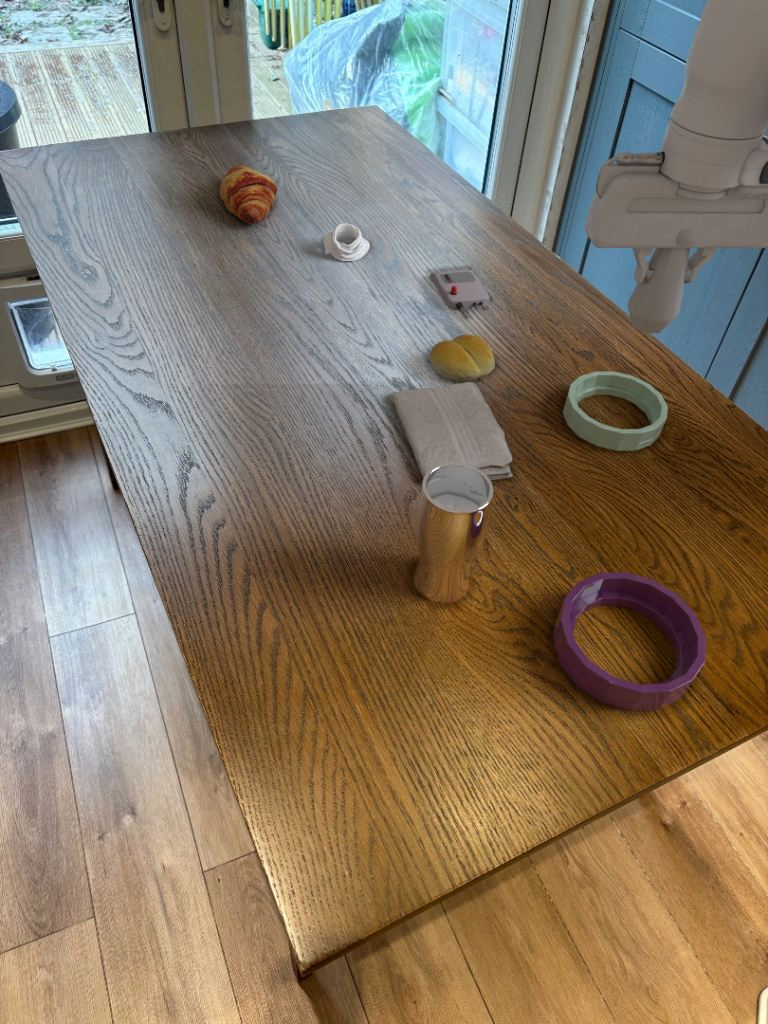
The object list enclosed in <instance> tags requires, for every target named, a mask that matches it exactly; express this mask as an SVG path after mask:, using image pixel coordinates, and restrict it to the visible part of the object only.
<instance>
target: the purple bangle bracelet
mask: <svg viewBox="0 0 768 1024" xmlns="http://www.w3.org/2000/svg"><path fill="white" fill-rule="evenodd" d="M611 606H613V607H615V606H617V607H618V606H619V607H622V608H626V609H629V610H632V611H636V612H638V613H640V614H641V615H643V616H645V617H647V618H648V619H649V620H651V621H653V622H655V624H656V625H658V627H659V628H660V630H662V632H663V633H664V634H665V635H666V636H667V637H668V639H669V641H670V644H671V646H672V649H673V651H674V654H675V663H674V672H673V673H672V675H671V676H670V678H669V679H666V680H665V681H662V682H661V683H651V684H649V683H648V684H639V683H635V682H632V681H629V680H625V679H622V678H619V677H616V676H613V675H612V674H610V673H608V672H607V671H606V670H604V669H603V668H601V667H600V666H598V665H597V664H596V663H594V662H593V661H591V660H590V659H589V657H588V656H587V655H586V653H585V652H584V651H583V650H582V648H581V647H580V646H579V644H578V643H577V642H576V639H575V634H574V631H575V626H576V622H577V621H578V620H579V619H580V617H581V616H582V615H583V614H584V613H586V612H589V611H591V610H593V609H596V608H598V607H611ZM554 625H555V627H554V630H553V636H552V641H553V645H554V648H555V652H556V655H557V660H558V662H559V665H561V667H562V669H563V670H564V671H565V673H566V674H567V675H568V677H569V678H570V680H572V681H573V683H574V684H575V685H576V686H577V687H579V688H580V690H582V691H584V692H585V693H587V694H589V695H590V696H591V697H592V698H594V699H596V700H597V701H598V702H600V703H603V704H605V705H609V706H612V707H616V708H618V709H622V710H625V711H629V712H640V711H643V712H644V711H658V710H661V709H663V708H665V707H667V706H669V705H671V704H673V703H675V702H677V701H679V700H680V699H682V697H683V695H684V694H685V692H686V691H687V690H688V688H689V687H690V685H691V684H692V683H693V682H694V680H695V678H696V676H697V675H698V674H699V672H700V670H701V668H702V667H703V666H704V664H705V663H706V651H707V650H706V649H707V637H706V634H705V632H704V630H703V627H702V625H701V623H700V620H699V618H698V616H697V614H696V613H695V612H694V611H693V610H692V609H691V607H690V606H689V605H688V604H687V603H686V602H685V601H684V599H682V597H680V596H679V595H678V594H677V593H676V592H674V591H672V590H671V589H669V588H667V587H666V586H664V585H663V584H661V583H659V582H657V581H655V580H654V579H652V578H649V577H643V576H641V575H637V574H633V573H630V572H626V571H622V572H621V571H619V572H599V573H597V574H595V575H592V576H589V577H587V578H585V579H581V580H580V581H578V582H577V583H576V584H575V585H574V587H572V589H571V590H570V591H569V592H568V593H567V594H566V596H564V598H563V601H562V604H561V607H560V609H559V611H558V615H557V617H556V621H555V624H554Z"/></svg>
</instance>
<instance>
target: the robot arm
mask: <svg viewBox="0 0 768 1024" xmlns="http://www.w3.org/2000/svg"><path fill="white" fill-rule="evenodd" d="M682 86H683V87H682V90H681V92H680V94H679V97H678V99H676V102H675V103H674V105H673V107H672V109H671V112H670V116H669V117H668V118H669V119H668V122H667V125H666V129H665V132H664V135H663V139H662V143H661V146H660V149H659V152H655V151H654V152H652V151H651V152H648V151H647V152H646V151H645V152H637V153H635V152H631V151H623V152H618V153H617V155H616V156H614V157H611V158H609V159H608V160H606V161H605V162H604V163H602V165H600V167H599V171H598V174H597V178H596V183H595V194H594V195H593V198H592V200H591V203H590V206H589V209H588V211H587V214H586V218H585V221H584V231H585V233H586V236H587V237H588V239H589V240H590V242H591V244H592V245H593V246H594V247H595V248H597V249H632V252H633V254H634V258H635V261H636V265H635V269H634V273H633V279H634V280H635V283H636V284H638V283H648V282H649V280H650V279H651V277H652V275H653V273H654V271H655V270H654V269H652V268H650V264H649V263H650V262H649V261H647V259H646V257H651V256H652V254H653V253H652V252H653V250H654V249H656V248H690V249H696V251H695V252H694V253H693V254H692V255H691V256H689V258H688V265H687V269H686V270H685V277H684V284H693V283H694V281H695V279H696V276H697V274H698V271H700V270H701V269H702V268H703V267H704V266H705V265H706V264H707V263H708V262H709V261H711V260H712V258H714V256H715V254H716V251H717V249H765V248H766V247H768V136H767V135H765V133H766V130H767V128H768V0H707V1H706V3H705V5H704V8H703V11H702V14H701V16H700V18H699V22H698V24H697V27H696V30H695V33H694V36H693V39H692V42H691V45H690V49H689V52H688V55H687V59H686V62H685V67H684V82H683V85H682ZM687 228H690V229H696V230H697V232H696V237H695V240H694V242H693V243H692V244H691V245H684V246H682V245H677V244H676V236H677V234H678V233H679V232H680V231H681V230H683V229H687Z"/></svg>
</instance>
